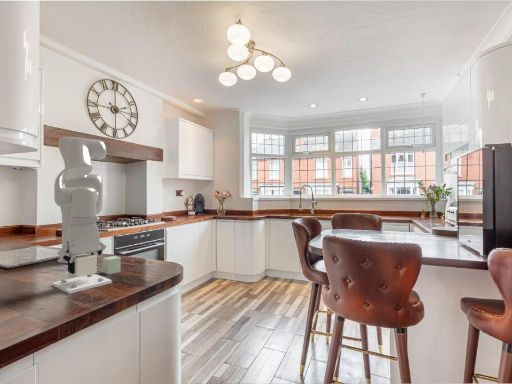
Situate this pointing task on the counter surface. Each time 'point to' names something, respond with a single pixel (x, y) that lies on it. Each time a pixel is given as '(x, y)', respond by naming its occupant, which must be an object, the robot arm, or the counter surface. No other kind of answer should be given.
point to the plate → (81, 283)
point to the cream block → (85, 264)
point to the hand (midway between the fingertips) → (82, 270)
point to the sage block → (111, 265)
